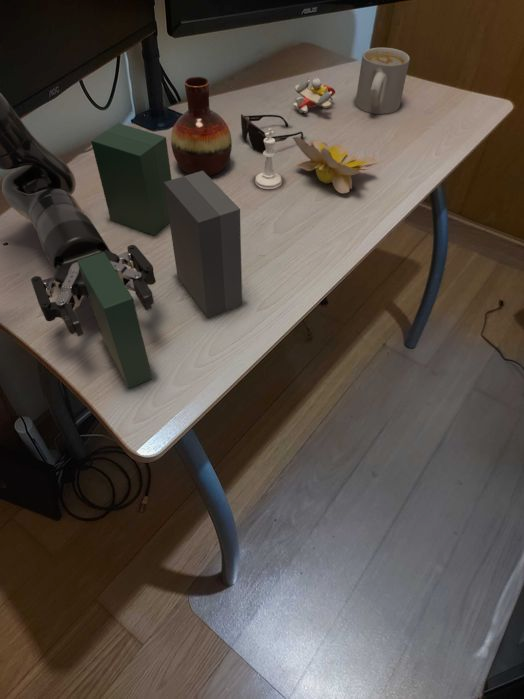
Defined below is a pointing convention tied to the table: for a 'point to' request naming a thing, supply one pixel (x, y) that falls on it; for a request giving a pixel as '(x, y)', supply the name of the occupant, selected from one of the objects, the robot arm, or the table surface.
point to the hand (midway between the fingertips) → (114, 317)
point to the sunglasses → (260, 131)
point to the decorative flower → (332, 163)
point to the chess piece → (268, 166)
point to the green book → (116, 318)
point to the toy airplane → (313, 95)
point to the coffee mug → (382, 80)
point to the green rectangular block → (134, 176)
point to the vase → (200, 133)
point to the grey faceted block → (205, 241)
